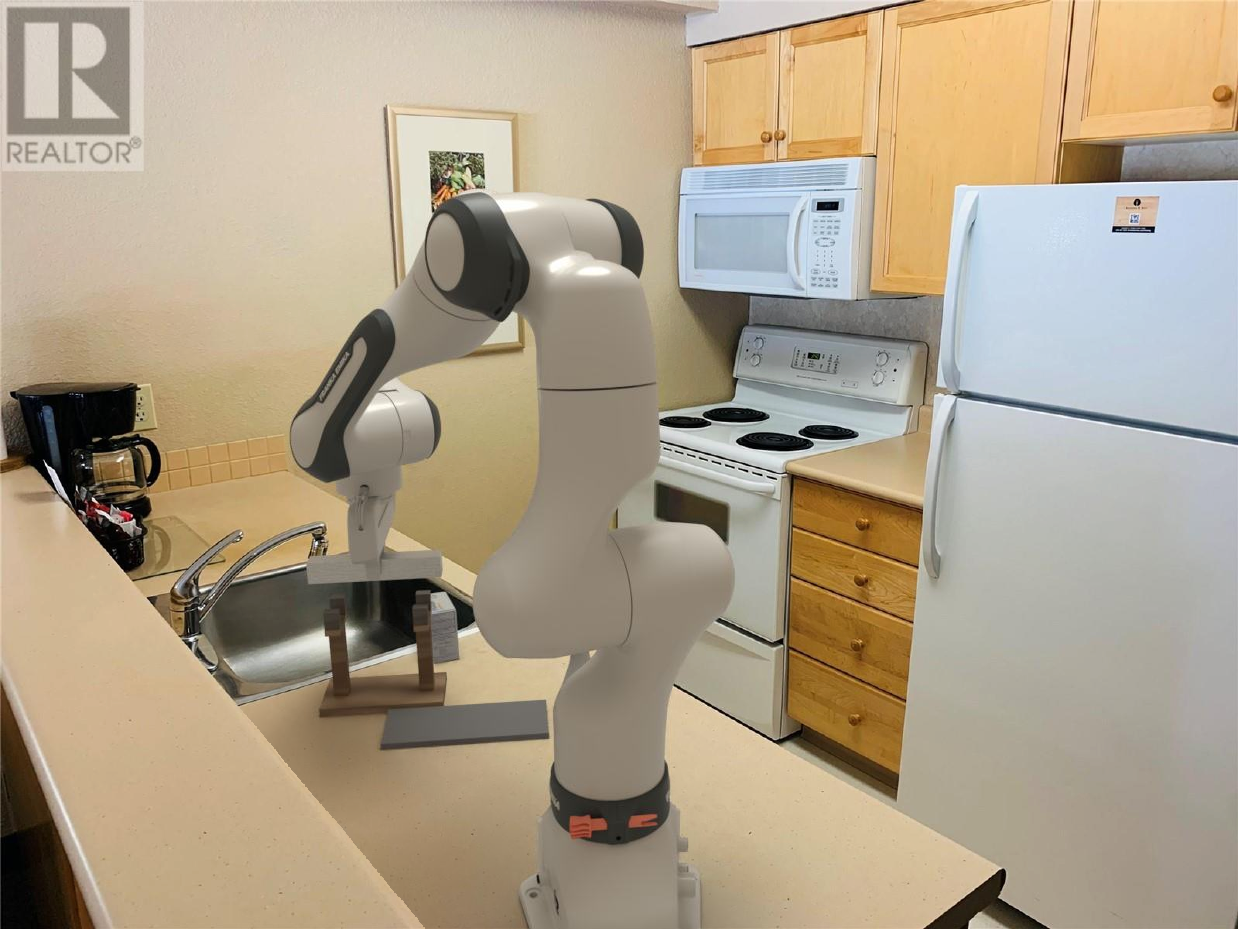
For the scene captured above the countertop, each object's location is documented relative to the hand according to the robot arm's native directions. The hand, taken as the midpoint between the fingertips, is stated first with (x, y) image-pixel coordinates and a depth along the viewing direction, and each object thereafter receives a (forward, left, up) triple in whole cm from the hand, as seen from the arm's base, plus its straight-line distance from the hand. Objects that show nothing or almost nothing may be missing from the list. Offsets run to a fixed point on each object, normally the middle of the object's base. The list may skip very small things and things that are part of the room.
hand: (376, 572), depth 133 cm
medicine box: (+14, -7, -20) cm, 25 cm away
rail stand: (0, 0, -19) cm, 19 cm away
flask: (-5, -28, -20) cm, 34 cm away
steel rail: (0, 0, -1) cm, 1 cm away
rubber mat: (-9, -12, -19) cm, 25 cm away
